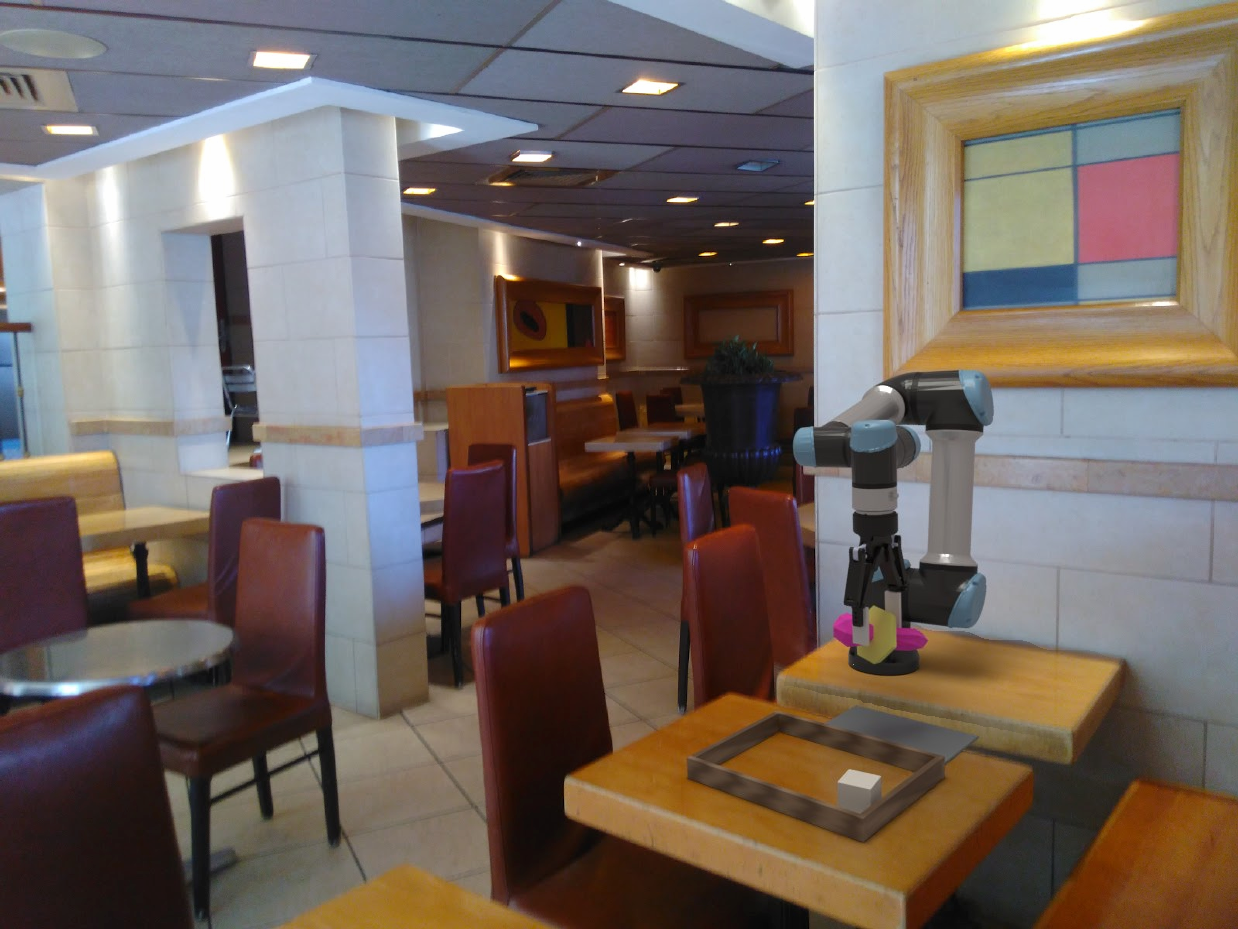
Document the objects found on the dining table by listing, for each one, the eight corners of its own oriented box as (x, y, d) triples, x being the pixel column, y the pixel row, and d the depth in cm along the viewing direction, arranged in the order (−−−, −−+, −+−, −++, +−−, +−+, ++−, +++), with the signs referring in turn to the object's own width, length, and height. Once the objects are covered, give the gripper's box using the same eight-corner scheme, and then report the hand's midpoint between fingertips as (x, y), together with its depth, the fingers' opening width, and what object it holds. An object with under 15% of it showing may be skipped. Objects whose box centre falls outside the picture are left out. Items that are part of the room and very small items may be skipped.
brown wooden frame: (687, 778, 149) (686, 757, 148) (777, 728, 167) (777, 710, 167) (863, 842, 126) (862, 818, 126) (944, 777, 145) (944, 756, 144)
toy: (939, 668, 155) (937, 609, 159) (850, 653, 150) (849, 592, 154) (902, 674, 164) (901, 618, 168) (817, 660, 159) (817, 603, 162)
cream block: (837, 814, 135) (837, 782, 134) (849, 800, 139) (849, 769, 138) (870, 822, 132) (870, 789, 131) (881, 807, 136) (881, 776, 136)
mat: (805, 736, 163) (805, 734, 163) (856, 707, 176) (856, 705, 176) (932, 774, 146) (932, 771, 146) (978, 738, 159) (978, 736, 159)
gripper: (860, 523, 144) (863, 657, 147) (926, 502, 160) (928, 623, 163) (819, 519, 149) (823, 649, 152) (888, 499, 165) (890, 616, 168)
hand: (877, 635), depth 157 cm, fingers closed on toy, 10 cm apart
